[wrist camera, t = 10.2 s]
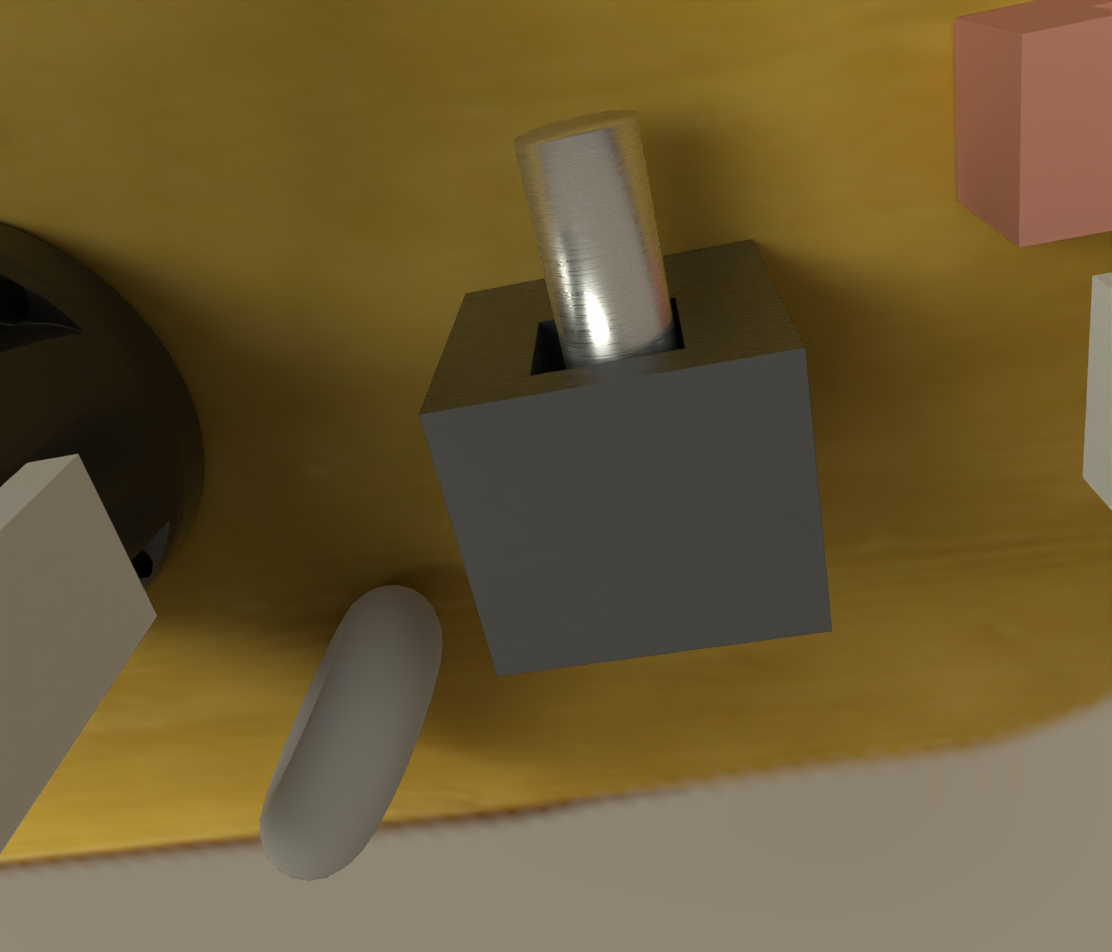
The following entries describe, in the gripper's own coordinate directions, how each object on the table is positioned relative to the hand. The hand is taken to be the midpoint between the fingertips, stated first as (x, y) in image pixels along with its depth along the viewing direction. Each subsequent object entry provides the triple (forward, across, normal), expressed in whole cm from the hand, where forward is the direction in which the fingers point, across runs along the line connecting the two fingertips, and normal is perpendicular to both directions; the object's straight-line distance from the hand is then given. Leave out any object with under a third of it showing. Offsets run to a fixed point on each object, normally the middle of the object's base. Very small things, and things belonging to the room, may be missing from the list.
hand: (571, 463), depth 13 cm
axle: (+13, 0, -5) cm, 14 cm away
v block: (+19, +14, 0) cm, 23 cm away
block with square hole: (+19, 0, -7) cm, 20 cm away
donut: (+19, -11, -16) cm, 27 cm away
